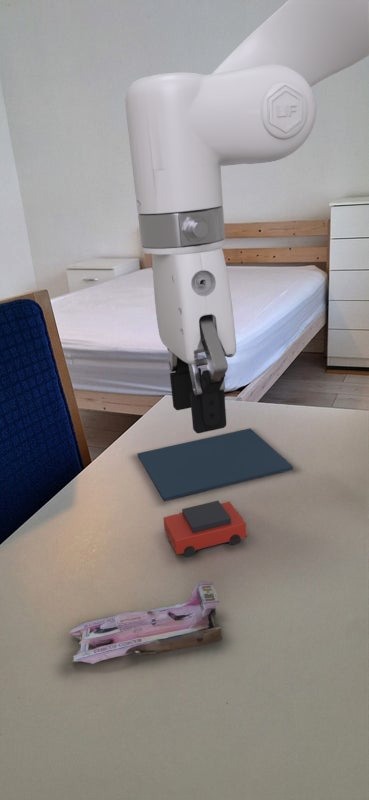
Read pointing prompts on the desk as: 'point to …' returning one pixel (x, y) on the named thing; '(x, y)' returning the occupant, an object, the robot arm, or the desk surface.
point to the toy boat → (151, 629)
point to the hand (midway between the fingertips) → (198, 416)
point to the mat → (211, 463)
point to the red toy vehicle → (204, 527)
